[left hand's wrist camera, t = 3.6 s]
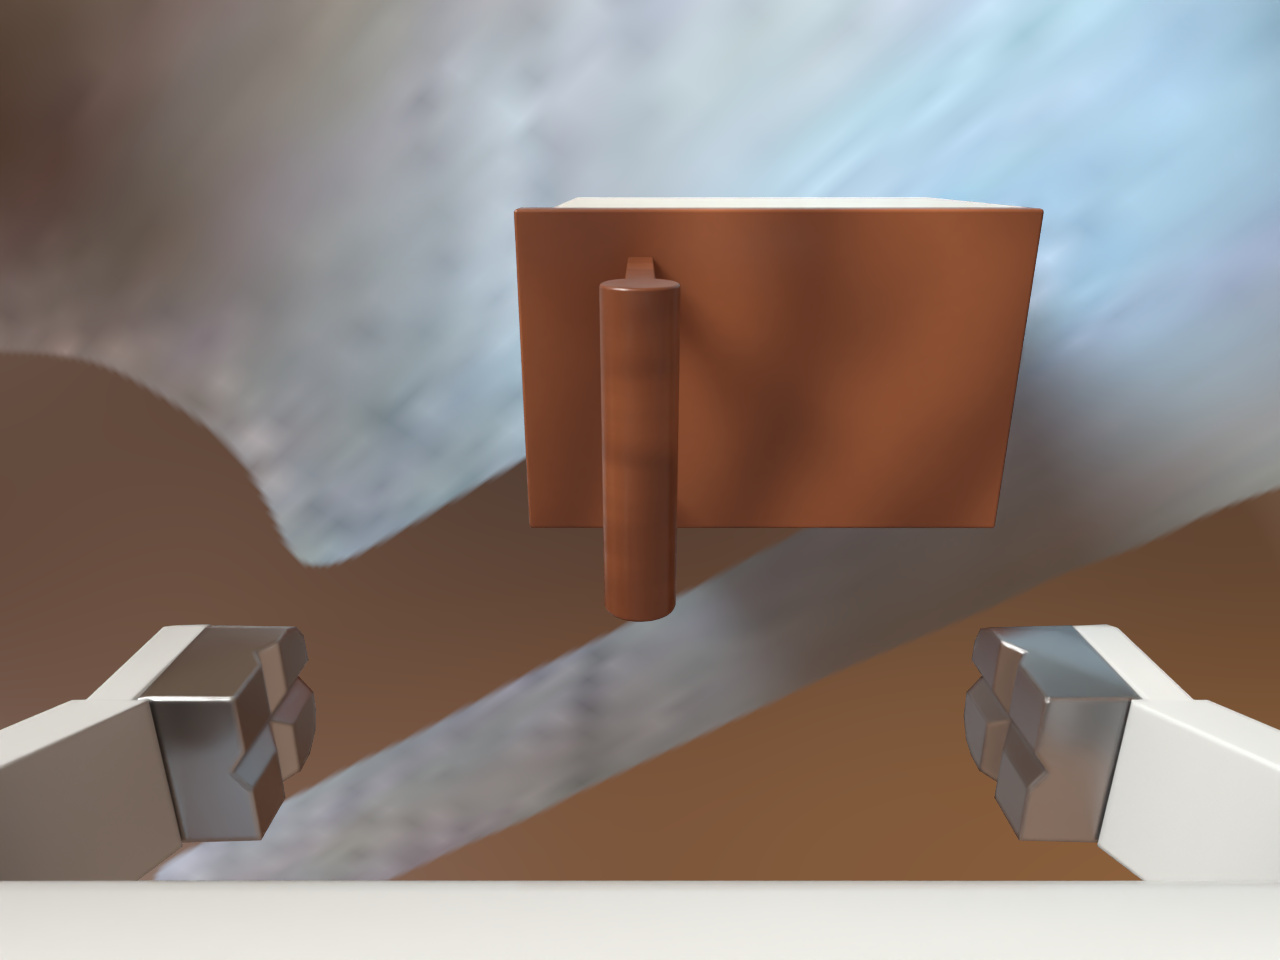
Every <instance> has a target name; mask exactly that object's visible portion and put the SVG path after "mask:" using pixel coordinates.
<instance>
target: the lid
mask: <svg viewBox="0 0 1280 960" xmlns="http://www.w3.org/2000/svg"><path fill="white" fill-rule="evenodd" d="M1043 213H1044V212H1043V210H1042V209H1039V208H1029V207H742V208H519V209H516V210H515V211H514V222H515V242H516V262H517V283H518V303H519V323H520V343H521V363H522V384H523V404H524V424H525V444H526V464H527V484H528V505H529V525H530V527H533V528H603V539H604V597H605V607H606V609H607V610H608V612H609V613H610V614H612V615H613V616H615V617H617V618H620V619H623V620H628V621H635V622H645V621H653V620H657V619H660V618H663V617H665V616H667V615H668V614H670V613H671V612H672V611H673V609H674V607H675V605H676V553H677V528H993V527H994V526H995V520H996V514H997V507H998V501H999V495H1000V488H1001V482H1002V475H1003V469H1004V463H1005V456H1006V450H1007V443H1008V437H1009V431H1010V424H1011V418H1012V411H1013V405H1014V399H1015V392H1016V386H1017V380H1018V373H1019V367H1020V360H1021V354H1022V348H1023V341H1024V335H1025V328H1026V322H1027V316H1028V309H1029V303H1030V296H1031V290H1032V284H1033V277H1034V271H1035V264H1036V258H1037V252H1038V245H1039V239H1040V232H1041V226H1042V220H1043Z"/></svg>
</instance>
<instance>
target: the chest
mask: <svg viewBox="0 0 1280 960" xmlns="http://www.w3.org/2000/svg"><path fill="white" fill-rule="evenodd" d="M742 207H1020V206H1009V205H999V204H989V203H979V202H969V201H959V200H949V199H938V198H928V197H716V198H575V199H573V200H570V201H568V202H566V203H563V204H561V205H559V206H556V207H554V208H742Z"/></svg>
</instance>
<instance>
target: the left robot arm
mask: <svg viewBox="0 0 1280 960" xmlns="http://www.w3.org/2000/svg"><path fill="white" fill-rule="evenodd" d="M307 661H308V656H307V651H306V646H305V641H304V636H303V634H302V633H301V632H300V631H299V630H298V629H297V628H296V627H272V626H219V625H216V626H212V625H175V626H167V627H163V628H162V629H161V630H160V631H159V632H158V633H157V634H156V635H154V636H153V637H152V638H151V639H150V640H149V641H148V642H147V643H146V644H145V645H144V646H143V647H142V648H141V649H140V650H139V651H138V652H136V653H135V654H134V655H133V656H132V657H131V658H130V659H129V660H128V661H127V662H126V663H125V664H124V665H123V666H122V667H121V668H120V669H119V670H117V671H116V672H115V673H114V674H113V675H112V676H111V677H110V678H109V679H108V680H107V681H106V682H105V683H104V684H103V685H101V686H100V687H99V688H98V689H97V690H96V691H95V692H94V693H93V694H92V695H91V696H90V697H89V698H88V699H87V700H71V701H69V702H66V703H64V704H62V705H59V706H57V707H54V708H52V709H50V710H47V711H45V712H42V713H40V714H38V715H35V716H33V717H30V718H28V719H26V720H23V721H21V722H19V723H16V724H14V725H12V726H9V727H7V728H4V729H2V730H0V960H1280V730H1278V729H1276V728H1273V727H1271V726H1268V725H1266V724H1264V723H1261V722H1259V721H1256V720H1254V719H1252V718H1249V717H1247V716H1245V715H1242V714H1240V713H1237V712H1235V711H1233V710H1230V709H1228V708H1226V707H1223V706H1221V705H1218V704H1216V703H1214V702H1211V701H1209V700H1193V699H1192V698H1191V697H1190V696H1189V695H1188V694H1187V693H1186V692H1185V691H1184V690H1183V689H1182V688H1181V687H1180V686H1179V685H1177V683H1175V682H1174V681H1173V680H1172V679H1171V678H1170V677H1169V676H1168V675H1167V674H1166V673H1165V672H1164V671H1163V670H1162V669H1161V668H1160V667H1159V666H1158V665H1156V664H1155V663H1154V662H1153V661H1152V660H1151V659H1150V658H1149V657H1148V656H1147V655H1146V654H1145V653H1144V652H1143V651H1142V650H1141V649H1140V648H1139V647H1137V646H1136V645H1135V644H1134V643H1133V642H1132V641H1131V640H1130V639H1129V638H1128V637H1127V636H1126V635H1125V634H1124V633H1123V632H1122V631H1120V629H1118V628H1116V627H1113V626H1110V625H1107V624H1103V625H1080V626H1030V627H990V628H983V629H980V631H979V633H978V635H977V638H976V640H975V644H974V650H973V655H972V661H973V662H974V664H975V665H976V667H977V668H978V670H979V671H980V673H981V675H982V676H981V677H980V678H979V680H978V681H977V682H976V683H975V684H974V685H973V686H972V687H971V688H970V689H969V690H968V691H967V694H966V702H965V711H964V723H965V733H966V740H967V744H968V747H969V750H970V753H971V756H972V758H973V760H974V762H975V763H976V765H977V767H978V769H979V771H981V772H982V773H984V774H985V775H987V776H989V777H990V778H992V779H993V780H995V781H996V782H997V786H996V792H995V799H996V801H997V803H998V804H999V806H1000V808H1001V810H1002V811H1003V813H1004V815H1005V816H1006V818H1007V820H1008V822H1009V823H1010V825H1011V827H1012V829H1013V830H1014V832H1015V834H1016V836H1017V837H1018V839H1019V840H1025V841H1062V842H1098V845H1097V846H1098V847H1099V848H1101V849H1102V850H1103V851H1105V852H1106V853H1107V854H1109V855H1110V856H1111V857H1112V858H1114V859H1115V860H1116V861H1118V862H1119V863H1121V864H1122V865H1123V866H1124V867H1126V868H1127V869H1128V870H1130V871H1131V872H1132V873H1134V874H1135V875H1136V876H1137V877H1139V878H1140V879H1141V880H1143V881H138V880H139V879H140V878H142V877H143V876H144V875H145V874H147V873H148V872H149V871H151V870H152V869H153V868H155V867H156V866H157V865H159V864H160V863H161V862H163V861H164V860H165V859H167V858H168V857H169V856H170V855H172V854H173V853H174V852H176V851H177V850H178V849H180V848H181V847H182V842H217V841H252V840H261V839H262V838H263V836H264V834H265V832H266V831H267V829H268V827H269V825H270V824H271V822H272V820H273V818H274V817H275V815H276V813H277V811H278V810H279V808H280V806H281V804H282V803H283V801H284V799H285V792H284V786H283V781H285V780H287V779H288V778H290V777H291V776H293V775H295V774H296V773H298V772H299V771H301V769H302V767H303V765H304V763H305V761H306V760H307V758H308V756H309V754H310V750H311V746H312V742H313V738H314V734H315V726H316V708H315V701H314V694H313V691H312V690H311V689H310V688H309V687H308V686H307V685H306V684H305V683H304V682H303V681H302V680H301V678H300V677H299V676H298V675H299V673H300V671H301V670H302V669H303V667H304V665H305V664H306V662H307Z"/></svg>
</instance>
